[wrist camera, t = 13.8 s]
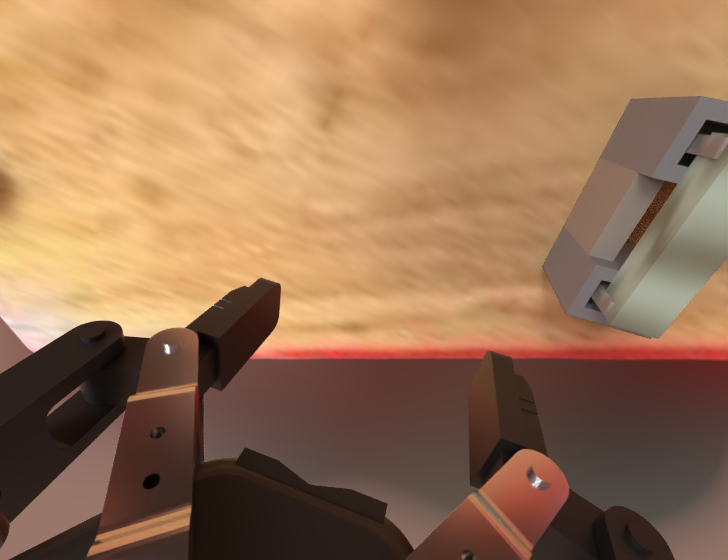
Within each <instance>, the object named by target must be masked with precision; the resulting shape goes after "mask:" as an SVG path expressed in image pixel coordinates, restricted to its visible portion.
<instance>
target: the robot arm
mask: <svg viewBox="0 0 728 560" xmlns="http://www.w3.org/2000/svg"><path fill="white" fill-rule="evenodd" d="M280 294H281V286H280V284H279V283H276V282H273V281H270V280H266V279H263V278H260V279H258V280H257V281H256V282H255V283H253V284H252V285H251V286H250V287H246V286H243V287H240V288H238V289H235V290H232V291H231V292H229V293H228V294H227V295H226V296H224V297H223V298H222V300H219V301H218V302H217V303H216V304H214V306H212V307H211V308H209V309H208V310H207V311H206V312H204V313H203V314H202V315H201V316H199V317H198V318H197V319H196V320H194V321H193V322H192V323H191V324H189V325H188V326H187V327H186V328H170V329H166V330H163V331H161V332H158V333H157V334H155V335H153V336H152V337H151V338H141V337H128V336H124V335H123V331H122V328H121V326H120V325H119V324H117V323H115V322H112V321H94V322H89V323H85V324H82V325H80V326H77V327H75V328H74V329H72V330H70V331H69V332H67V333H65V334H64V335H62V336H61V337H59V338H57V339H56V340H54V341H53V342H51V343H49V344H48V345H46V346H45V347H43V348H41V349H40V350H38V351H36V352H35V353H33V354H32V355H30V356H29V357H27V358H25V359H24V360H22V361H20V362H19V363H17V364H16V365H14V366H12V367H11V368H9V369H8V370H6V371H4V372H3V373H1V374H0V549H1V547H2V546H3V544H4V542H5V540H6V539H7V536H8V533H9V528H10V523H11V521H13V520H14V519H15V518H16V516H18V515H19V514H20V513H21V512H22V511H23V510H24V509H25V508H26V507H27V506H28V505H29V504H30V503H31V502H32V501H33V500H34V499H35V498H36V497H37V496H38V495H39V494H40V493H41V492H42V491H43V490H44V489H45V488H46V487H47V486H48V485H49V484H50V483H51V482H52V481H53V480H54V479H55V478H56V477H57V476H58V475H59V474H60V473H61V472H63V471H64V470H65V469H66V468H67V467H68V465H70V464H71V463H72V462H73V461H74V460H75V459H76V458H77V457H78V456H79V455H80V454H81V453H82V452H83V451H84V450H85V449H86V448H87V447H88V446H89V445H90V444H91V443H92V442H93V441H94V440H95V439H96V438H97V437H98V436H99V435H100V434H101V433H102V432H103V431H104V430H105V429H106V428H107V427H108V426H109V425H110V424H111V423H112V422H113V421H114V420H115V419H117V418H118V417H119V416H120V415H121V414H122V413H123V412H124V411H125V413H124V417H123V422H122V426H121V431H120V436H119V440H118V444H117V449H116V453H115V458H114V462H113V467H112V471H111V476H110V480H109V485H108V489H107V494H106V498H105V502H104V507H103V511H102V513H100V514H98V515H96V516H94V517H92V518H90V519H88V520H86V521H84V522H82V523H80V524H79V525H76V526H75V527H72V528H70V529H69V530H67V531H65V532H63V533H61V534H59V535H57V536H55V537H53V538H51V539H49V540H47V541H45V542H43V543H41V544H39V545H37V546H35V547H33V548H31V549H29V550H27V551H25V552H23V553H21V554H19V555H17V556H15V557H13V558H11V559H9V560H675V559H674V557H673V554H672V552H671V550H670V548H669V546H668V545H667V543H666V541H665V540H664V539H663V537H662V536H661V535H660V533H659V532H658V531H657V530H656V529H655V528H654V527H653V526H652V525H651V524H650V523H649V522H648V521H647V520H646V519H644V518H643V517H642V516H640V515H639V514H637V513H636V512H634V511H632V510H630V509H628V508H625V507H621V506H613V507H611V508H609V509H608V510H607V511H605V512H604V511H602V510H601V509H599V508H598V507H596V506H595V505H593V504H592V503H590V502H588V501H587V500H585V499H584V498H582V497H581V496H579V495H578V494H576V493H575V492H573V491H572V490H571V489H570V488H569V486H568V483H567V480H566V478H565V476H564V475H563V473H562V471H561V470H560V469H559V468H558V466H557V465H556V464H555V463H554V462H553V461H552V460H550V459H549V458H548V455H547V452H546V447H545V443H544V438H543V434H542V430H541V426H540V422H539V418H538V416H537V414H538V413H537V409H536V405H534V404H535V401H534V397H533V393H532V390H531V388H530V386H529V385H528V383H527V382H526V380H525V379H524V377H523V376H520V375H517V374H515V373H514V368H513V362H512V359H511V357H508V356H505V355H502V354H499V353H496V352H492V351H488V352H487V353H486V354H485V356H484V358H483V360H482V362H481V364H480V366H479V368H478V370H477V372H476V374H475V376H474V378H473V380H472V383H471V385H470V390H469V397H468V399H469V400H468V401H469V459H470V460H469V462H470V485H471V486H474V487H476V488H479V489H480V490H479V491H474V492H473V493H472V494H471V495H470V496H468V497H467V498H466V499H465V501H463V502H462V503H461V504H460V505H459V506H458V507H457V508H456V509H455V510H454V511H453V512H452V513H451V514H450V515H449V516H448V517H447V518H446V519H445V520H444V521H443V522H442V523H441V524H440V525H439V526H438V527H437V528H436V529H435V530H434V531H433V532H432V533H431V534H430V535H429V536H428V537H427V538H426V539H425V540H424V541H423V542H422V543H421V544H420V545H419V546H418V547H417V548H416V549H415V550H414V549H413V547H412V546H411V544H410V543H409V541H408V540H407V538H406V537H405V536H404V534H403V533H402V532H401V531H400V530H399V528H397V527H396V526H395V525H394V524H393V523H392V522H391V521H390V520H389V519H387V518H386V517H385V514H386V508H387V503H384V502H382V501H379V500H377V499H374V498H372V497H369V496H367V495H364V494H361V493H359V492H356V491H354V490H351V489H343V488H334V487H323V486H314V485H310V484H308V483H307V482H305V481H304V480H303V479H301V478H300V477H299V476H297V475H296V474H295V473H294V472H292V471H291V470H290V469H289V468H287V467H286V466H285V465H283V464H282V463H281V462H280V461H278V460H276V459H273V458H271V457H268V456H266V455H263V454H260V453H258V452H255V451H252V450H250V449H248V448H244V450H243V452H242V453H241V455H240V456H239V458H223V459H216V460H212V461H208V462H205V459H204V393H205V392H206V391H207V390H208V389H209V388H210V387H212V388H215V389H218V390H220V391H222V390H223V389H224V388H225V387H226V386H227V384H228V383H229V382H230V381H231V380H232V378H233V377H234V376H235V375H236V374H237V373H238V371H239V370H240V369H241V368H242V367H243V365H244V364H245V363H246V362H247V361H248V360H249V358H250V357H251V356H252V355H253V354H254V352H255V351H256V350H257V349H258V348H259V347H260V345H261V344H262V343H263V342H264V341H265V339H266V338H267V337H268V336H269V335H270V334H271V332H272V331H273V330H274V328H275V327H276V324H277V322H278V319H279V309H280ZM78 386H80V389H81V390H79V391H78V392H77V393H76V394H75V395H73V396H72V397H71V398H70V399H68V400H67V401H66V402H65V403H63V404H62V405H61V406H60V407H58V408H57V409H56V410H55V411H53V412H52V413H51V414H50V415H49V416H47V414H48V412H49V411H50V410H51V408H52V407H53V406H54V405H55V404H57V403H58V402H59V401H60V400H61V399H63V398H64V397H66V396H67V395H68V394H69V393H71V392H72V391H73V390H74V389H76V388H77V387H78Z"/></svg>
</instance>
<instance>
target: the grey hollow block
mask: <svg viewBox="0 0 728 560" xmlns="http://www.w3.org/2000/svg"><path fill="white" fill-rule="evenodd" d="M712 132H715V133H724V134H728V101H723V100H718V99H713V98H708V97H702V96H697V97H670V98H643V99H631V100H630V102H629V104H628V106H627V108H626V110H625V111H624V113H623V115H622V117H621V119H620V121H619V123H618V125H617V127H616V128H615V130H614V132H613V134H612V136H611V138H610V140H609V142H608V144H607V145H606V147H605V149H604V151H603V153H602V155H601V157H600V159H599V161H598V162H597V164H596V166H595V168H594V170H593V172H592V174H591V176H590V178H589V179H588V181H587V183H586V185H585V187H584V189H583V191H582V193H581V195H580V196H579V198H578V200H577V202H576V204H575V206H574V208H573V210H572V212H571V213H570V215H569V217H568V219H567V221H566V223H565V225H564V227H563V228H562V230H561V232H560V234H559V236H558V238H557V240H556V242H555V244H554V245H553V247H552V249H551V251H550V253H549V255H548V257H547V259H546V261H545V262H544V264H543V266H542V267H543V269H544V271H545V273H546V275H547V277H548V279H549V281H550V283H551V285H552V287H553V289H554V291H555V293H556V295H557V297H558V299H559V301H560V303H561V306H562V308H563V310H564V312H565V314H567V315H571V316H574V317H578V318H581V319H584V320H588V321H591V322H595V323H598V324H602V325H605V326H608V327H612V328H615V329H619V330H622V331H626V332H629V333H632V334H636V335H639V336H643V337H646V338H650V339H651V338H652V337H651V336H647V335H644V334H641V333H637V332H634V331H630V330H627V329H624V328H620V327H617V326H613V325H610V324H609V323H608V321H607V320H606V318H605V317H604V315H603V314H602V312H601V311H600V309H599V308H598V306H597V305H596V303H595V301H594V300H593V298H592V297H591V296H592V294H593V293H594V291H595V290H596V288H597V287H598V285H599V284H600V282H601V281H602V280H604V281H608V282H612V280H613V279H614V277H615V276H616V274H617V273H618V271H619V270H620V268H621V267H622V265H623V264H624V262H625V261H626V260H627V258H628V257H629V255H630V254H631V252H632V251H633V249H634V248H635V246H636V245H635V244H633V243H629V242H626V241H627V239H628V238H629V236H630V235H631V233H632V232H633V230H634V228H635V227H636V225H637V224H638V222H639V221H640V219H641V218H642V216H643V215H644V213H645V212H646V210H647V208H648V207H649V205H650V204H651V202H652V201H653V199H654V198H655V196H656V195H657V193H658V192H659V190H660V188H661V187H662V185H663V184H664V182H665V181H669V182H673V183H677V184H678V183H679V181H680V180H681V178H682V177H683V175H684V174H685V172H686V171H687V169H688V168H689V166H690V165H691V163H692V162H693V160H694V159H695V157H696V156H697V155H694V154H689V153H685V152H686V150H687V149H688V147H689V146H690V144H691V142H692V141H693V139H694V138H695V136H696V135H697V134H704V135H711V134H712Z"/></svg>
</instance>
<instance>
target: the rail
mask: <svg viewBox="0 0 728 560" xmlns="http://www.w3.org/2000/svg"><path fill="white" fill-rule="evenodd" d="M685 153H689V154H694V155H697V156H696V157H695V159H694V160H693V162H692V163H691V165H690V166H689V168H688V169H687V171H686V172H685V174H684V175H683V177H682V178H681V180H680V181H679V183H678V184H677V186H676V187H675V188H674V190H673V191H672V193H671V194H670V196H669V197H668V199H667V200H666V202H665V203H664V205H663V206H662V208H661V209H660V211H659V212H658V214H657V215H656V217H655V218H654V220H653V221H652V223H651V224H650V225H649V227H648V228H647V230H646V231H645V233H644V234H643V236H642V237H641V239H640V240H639V242H638V243H637V245H636V246H635V248H634V249H633V251H632V252H631V254H630V255H629V257H628V258H627V260H626V261H625V262H624V264H623V265H622V267H621V268H620V270H619V271H618V273H617V274H616V276H615V277H614V279H613V280H612V282H608V281H604V280H602V281H601V282H600V284H599V285H598V287H597V288H596V290H595V291H594V293H593V294H592V296H591V297H592V298H593V300H594V301H595V303H596V305H597V306H598V308H599V309H600V311H601V312H602V314H603V315H604V317H605V318H606V320H607V321H608V323H609V324H610V325H613V326H617V327H620V328H624V329H627V330H630V331H634V332H637V333H641V334H644V335H647V336H651V337H654V338H658V339H659V337H660V336H661V335H662V334H663V333H664V332H665V330H666V329H667V328H668V327H669V326H670V324H671V323H672V322H673V321H674V320H675V319H676V317H677V316H678V315H679V314H680V313H681V312H682V310H683V309H684V308H685V307H686V306H687V305H688V303H689V302H690V301H691V300H692V299H693V297H694V296H695V295H696V294H697V293H698V292H699V290H700V289H701V288H702V287H703V286H704V285H705V283H706V282H707V281H708V280H709V279H710V277H711V276H712V275H713V274H714V273H715V272H716V270H717V269H718V268H719V267H720V266H721V265H722V263H723V262H724V261H725V260H726V259H727V257H728V134H724V133H715V132H712V134H711V135H704V134H697V135H696V136H695V138H694V139H693V141H692V142H691V144H690V146H689V147H688V149H687V150H686V152H685Z"/></svg>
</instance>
